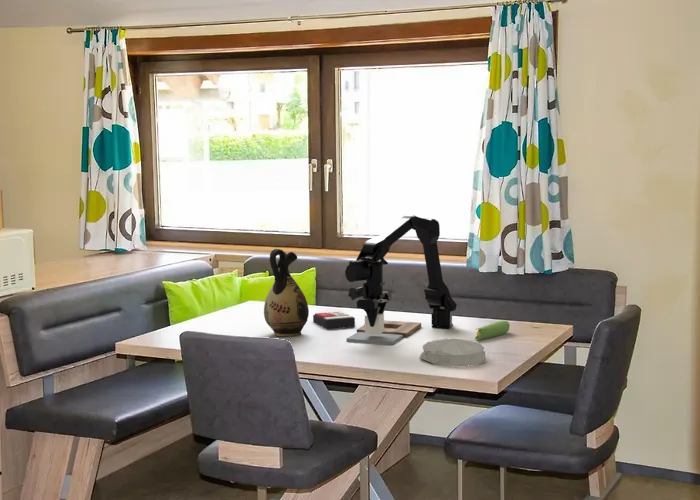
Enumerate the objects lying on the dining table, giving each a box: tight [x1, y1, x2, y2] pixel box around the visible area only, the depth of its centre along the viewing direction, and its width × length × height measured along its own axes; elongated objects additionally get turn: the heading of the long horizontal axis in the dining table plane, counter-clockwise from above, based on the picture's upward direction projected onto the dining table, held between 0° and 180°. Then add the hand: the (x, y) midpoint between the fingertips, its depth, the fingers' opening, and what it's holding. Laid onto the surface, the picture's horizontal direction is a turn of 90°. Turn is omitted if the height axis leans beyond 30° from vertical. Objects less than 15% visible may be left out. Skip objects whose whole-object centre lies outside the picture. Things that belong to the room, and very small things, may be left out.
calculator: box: [312, 311, 356, 330], centre depth 315 cm, size 11×4×15 cm
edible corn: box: [474, 320, 511, 342], centre depth 292 cm, size 5×20×5 cm
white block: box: [364, 313, 385, 335], centre depth 288 cm, size 5×5×6 cm
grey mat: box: [346, 331, 404, 346], centre depth 289 cm, size 16×11×1 cm
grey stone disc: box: [419, 337, 487, 367], centre depth 262 cm, size 20×20×7 cm
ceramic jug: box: [263, 248, 310, 337], centre depth 297 cm, size 17×15×30 cm
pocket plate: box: [356, 319, 422, 338], centre depth 304 cm, size 18×18×2 cm
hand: (374, 325), depth 288 cm, fingers closed on white block, 5 cm apart
